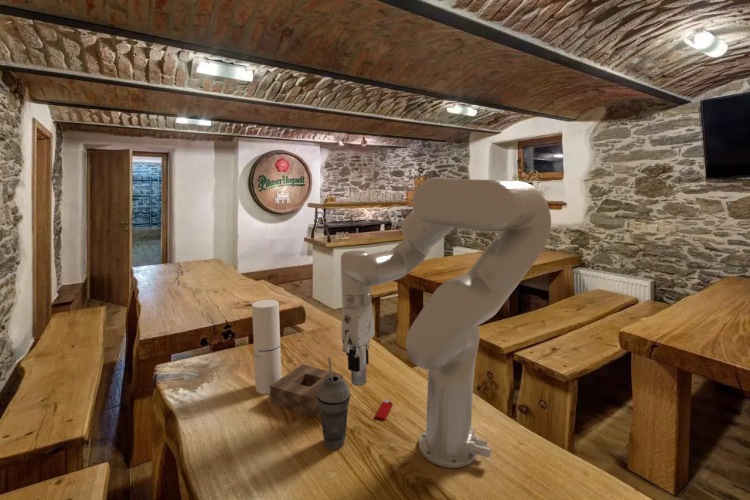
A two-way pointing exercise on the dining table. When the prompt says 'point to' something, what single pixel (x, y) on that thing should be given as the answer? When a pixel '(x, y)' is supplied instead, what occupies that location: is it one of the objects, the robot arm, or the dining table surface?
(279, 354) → the cylindrical container
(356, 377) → the steel peg
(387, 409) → the lighter
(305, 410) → the walnut socket block
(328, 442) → the beverage cup
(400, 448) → the dining table surface
